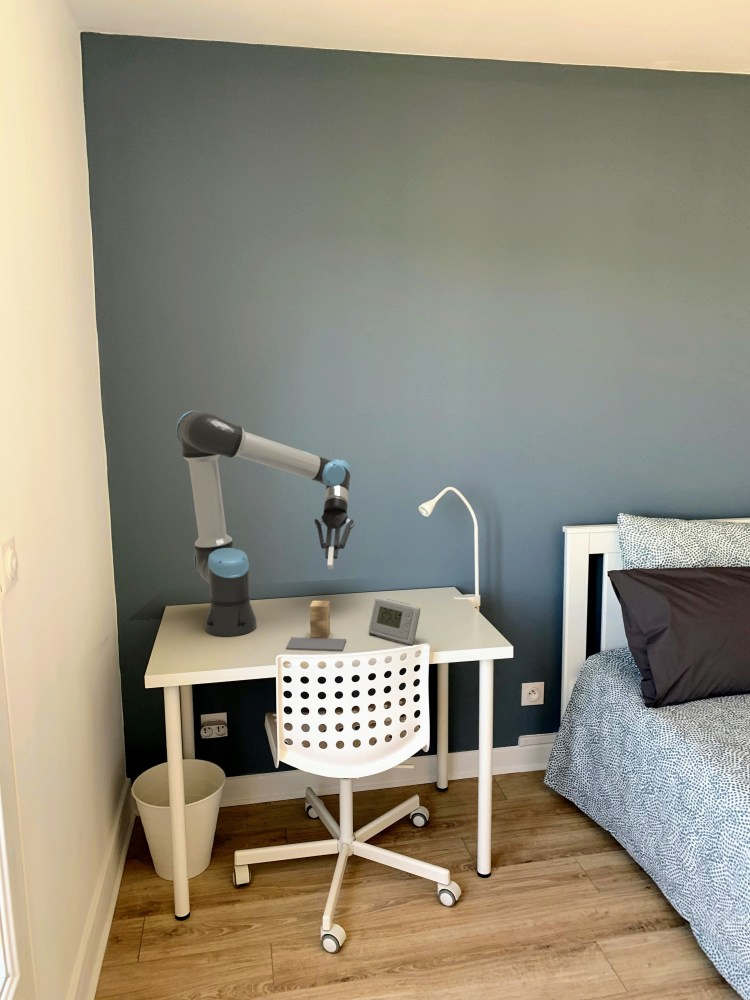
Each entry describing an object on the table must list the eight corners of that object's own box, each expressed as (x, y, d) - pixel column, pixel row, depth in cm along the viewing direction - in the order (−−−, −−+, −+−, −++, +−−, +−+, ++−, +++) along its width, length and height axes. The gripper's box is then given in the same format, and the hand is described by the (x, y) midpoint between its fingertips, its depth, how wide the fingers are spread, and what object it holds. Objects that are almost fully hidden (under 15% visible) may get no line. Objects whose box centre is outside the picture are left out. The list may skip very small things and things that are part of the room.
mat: (285, 649, 216) (285, 647, 216) (291, 638, 224) (291, 637, 224) (342, 651, 215) (342, 649, 215) (346, 640, 223) (346, 638, 223)
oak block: (310, 638, 224) (309, 606, 222) (313, 632, 229) (312, 600, 227) (327, 639, 224) (326, 606, 222) (330, 633, 229) (329, 601, 227)
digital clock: (365, 633, 228) (365, 599, 226) (388, 626, 234) (387, 593, 232) (402, 649, 216) (403, 613, 214) (425, 641, 222) (426, 606, 220)
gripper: (357, 509, 253) (352, 573, 240) (317, 509, 254) (310, 572, 241) (355, 496, 247) (350, 561, 234) (314, 496, 248) (307, 561, 235)
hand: (330, 567), depth 238 cm, fingers closed
